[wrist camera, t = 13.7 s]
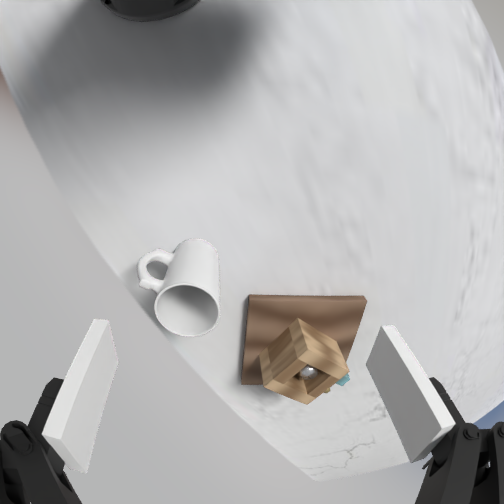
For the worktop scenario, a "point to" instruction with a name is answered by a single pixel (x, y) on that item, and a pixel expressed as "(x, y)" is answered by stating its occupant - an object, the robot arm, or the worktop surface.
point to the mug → (185, 287)
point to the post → (308, 372)
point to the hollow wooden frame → (302, 363)
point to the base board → (286, 312)
